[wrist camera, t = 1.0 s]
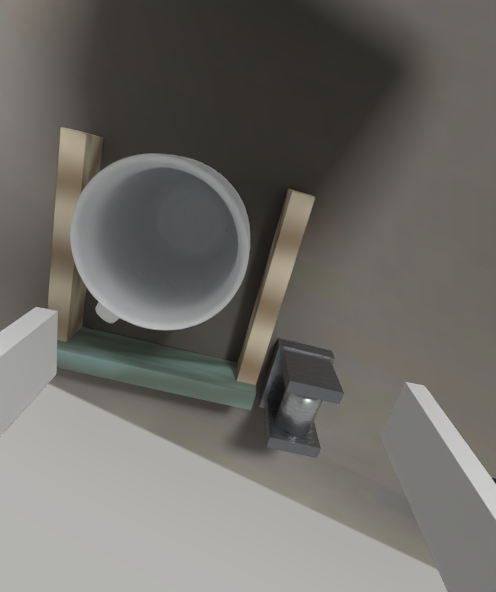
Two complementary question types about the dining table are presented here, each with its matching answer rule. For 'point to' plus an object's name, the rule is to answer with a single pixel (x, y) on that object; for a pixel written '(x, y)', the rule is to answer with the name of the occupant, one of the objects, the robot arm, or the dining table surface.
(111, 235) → the mug
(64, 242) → the bay
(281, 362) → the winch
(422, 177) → the dining table surface
